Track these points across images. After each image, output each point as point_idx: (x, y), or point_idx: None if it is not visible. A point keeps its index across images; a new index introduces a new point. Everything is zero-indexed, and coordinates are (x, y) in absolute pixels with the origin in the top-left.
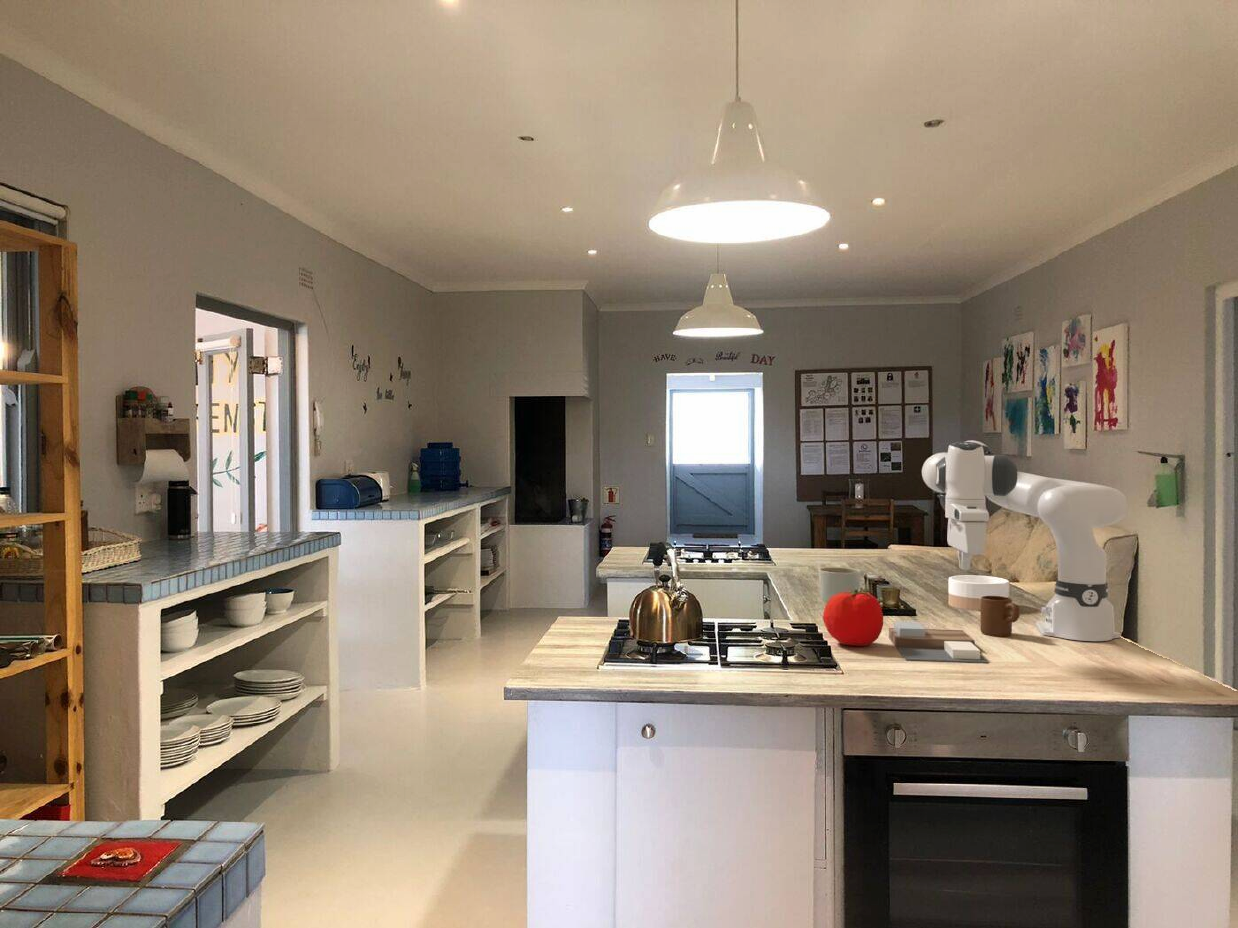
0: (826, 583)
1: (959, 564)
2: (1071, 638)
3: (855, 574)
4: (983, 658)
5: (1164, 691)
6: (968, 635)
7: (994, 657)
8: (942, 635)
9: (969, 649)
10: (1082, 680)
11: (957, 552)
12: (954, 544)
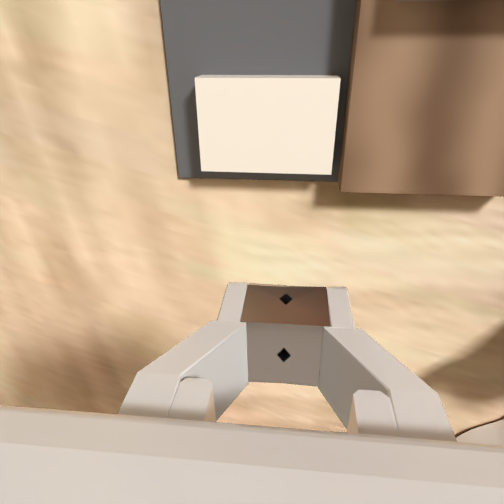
0: None
1: (334, 302)
2: (461, 437)
3: None
4: (218, 175)
5: (49, 407)
6: (425, 193)
7: (256, 213)
8: (432, 92)
9: (209, 139)
10: (74, 323)
11: (436, 401)
12: (483, 501)
